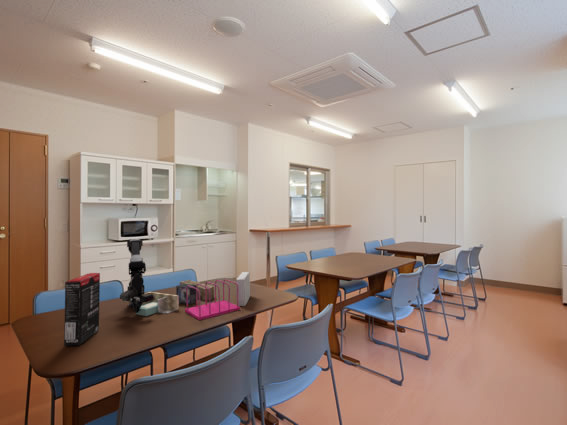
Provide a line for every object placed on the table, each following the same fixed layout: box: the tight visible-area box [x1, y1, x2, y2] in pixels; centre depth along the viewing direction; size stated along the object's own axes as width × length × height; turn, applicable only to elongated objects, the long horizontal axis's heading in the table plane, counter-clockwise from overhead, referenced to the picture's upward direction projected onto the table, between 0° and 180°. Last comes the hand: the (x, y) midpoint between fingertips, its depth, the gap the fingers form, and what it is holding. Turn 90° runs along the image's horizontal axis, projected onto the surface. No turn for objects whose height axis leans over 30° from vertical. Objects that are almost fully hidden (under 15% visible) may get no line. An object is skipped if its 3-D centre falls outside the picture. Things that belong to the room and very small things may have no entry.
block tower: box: [179, 279, 215, 302], centre depth 201 cm, size 8×8×29 cm
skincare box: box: [235, 271, 251, 307], centre depth 188 cm, size 21×6×16 cm, turn 178°
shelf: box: [141, 291, 180, 311], centre depth 172 cm, size 22×8×8 cm, turn 68°
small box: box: [175, 284, 196, 306], centre depth 185 cm, size 11×6×10 cm, turn 68°
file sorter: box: [184, 279, 241, 321], centre depth 170 cm, size 17×25×16 cm
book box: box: [135, 302, 158, 317], centre depth 168 cm, size 8×12×4 cm, turn 154°
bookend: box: [157, 296, 177, 315], centre depth 169 cm, size 7×7×7 cm
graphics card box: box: [63, 272, 101, 347], centre depth 134 cm, size 17×7×27 cm, turn 7°
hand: (136, 312), depth 163 cm, fingers closed
